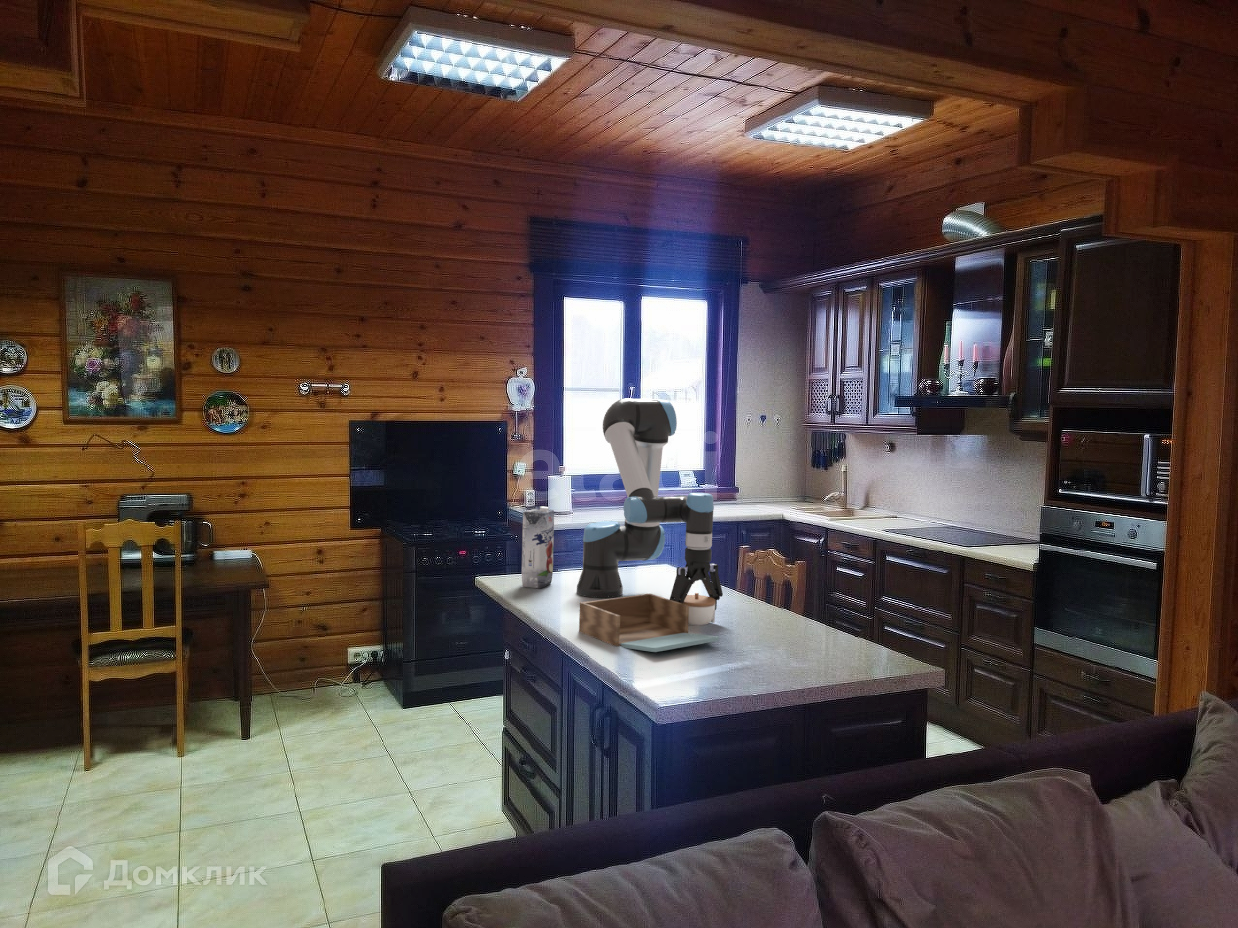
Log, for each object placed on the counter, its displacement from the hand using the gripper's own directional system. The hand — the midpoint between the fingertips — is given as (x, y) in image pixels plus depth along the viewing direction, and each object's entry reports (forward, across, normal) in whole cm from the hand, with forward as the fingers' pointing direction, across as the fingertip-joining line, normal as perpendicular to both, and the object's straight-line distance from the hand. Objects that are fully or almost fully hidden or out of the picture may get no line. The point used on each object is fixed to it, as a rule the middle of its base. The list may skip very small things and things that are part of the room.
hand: (695, 623), depth 257 cm
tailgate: (-1, -23, -9) cm, 25 cm away
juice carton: (+1, -12, +68) cm, 69 cm away
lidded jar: (+1, 0, 0) cm, 1 cm away
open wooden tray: (+1, -23, -1) cm, 23 cm away
